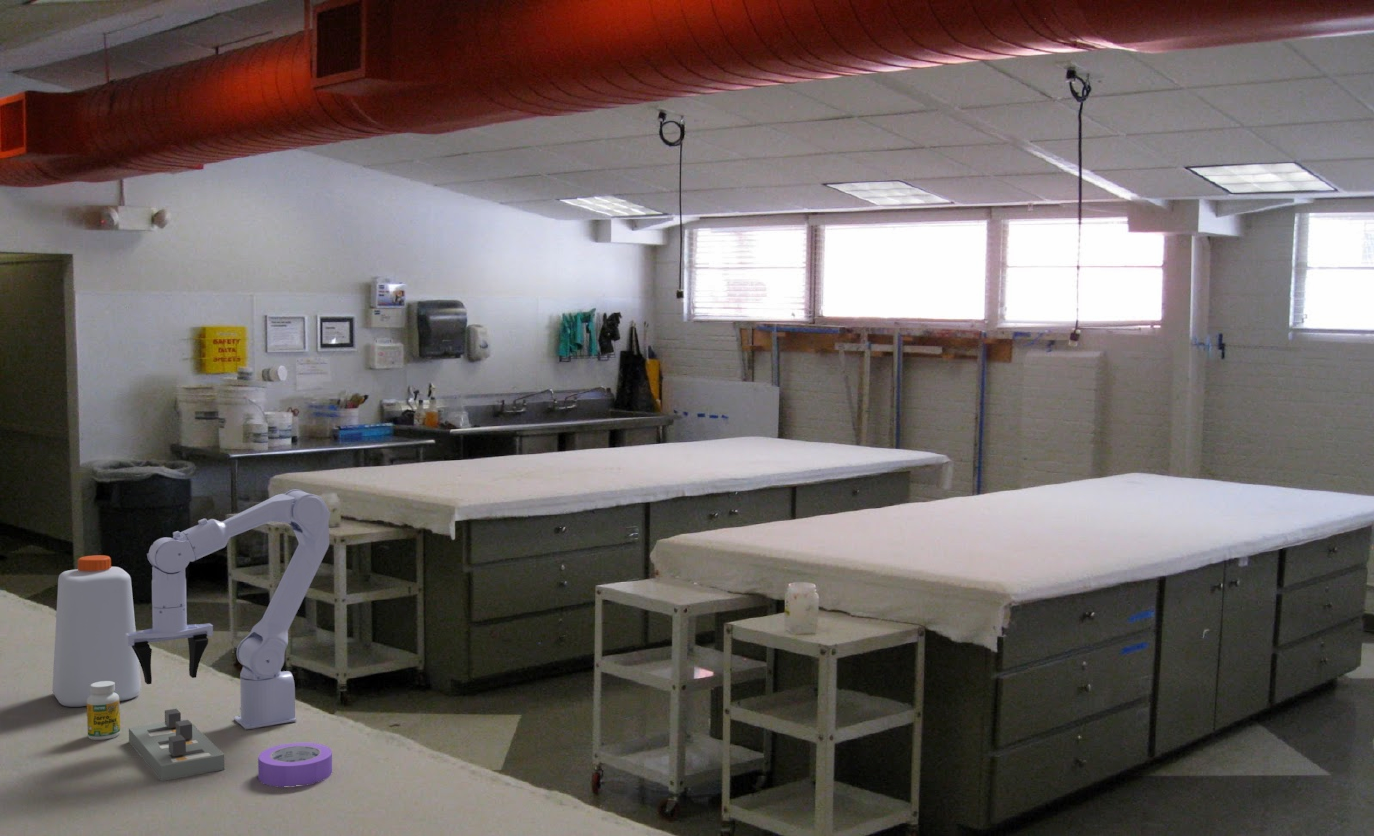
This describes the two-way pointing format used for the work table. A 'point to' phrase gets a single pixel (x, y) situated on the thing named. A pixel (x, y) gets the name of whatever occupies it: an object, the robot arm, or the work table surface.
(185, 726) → the slider middle
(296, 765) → the masking tape
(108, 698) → the supplement bottle
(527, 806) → the work table surface
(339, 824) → the work table surface
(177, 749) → the block
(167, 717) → the slider back
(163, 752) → the switch panel
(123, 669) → the plastic bottle
